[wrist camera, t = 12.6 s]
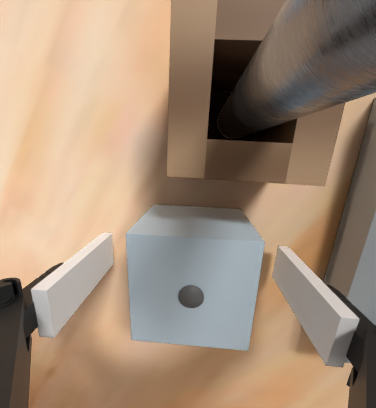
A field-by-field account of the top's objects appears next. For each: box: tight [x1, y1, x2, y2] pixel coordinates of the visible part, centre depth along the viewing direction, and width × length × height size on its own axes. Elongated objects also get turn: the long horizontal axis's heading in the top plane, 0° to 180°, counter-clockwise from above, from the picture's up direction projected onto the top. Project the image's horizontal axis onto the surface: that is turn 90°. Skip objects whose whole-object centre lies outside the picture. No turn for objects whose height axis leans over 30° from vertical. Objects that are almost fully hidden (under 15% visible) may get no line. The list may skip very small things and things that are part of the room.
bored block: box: [167, 0, 345, 186], centre depth 10 cm, size 7×7×6 cm
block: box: [126, 204, 265, 351], centre depth 13 cm, size 7×7×6 cm
